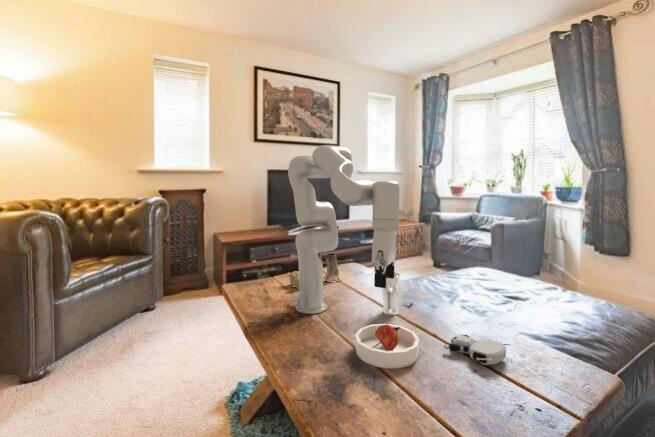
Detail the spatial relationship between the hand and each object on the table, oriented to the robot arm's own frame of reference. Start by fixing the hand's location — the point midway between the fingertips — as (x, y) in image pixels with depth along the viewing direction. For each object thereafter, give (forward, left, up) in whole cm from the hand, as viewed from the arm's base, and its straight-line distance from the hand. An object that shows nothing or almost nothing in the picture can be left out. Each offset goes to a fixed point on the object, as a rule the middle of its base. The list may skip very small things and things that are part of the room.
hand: (384, 282), depth 96 cm
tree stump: (-43, +60, -21) cm, 77 cm away
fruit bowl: (+1, -1, -21) cm, 21 cm away
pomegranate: (+1, -1, -20) cm, 20 cm away
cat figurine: (-54, +43, -21) cm, 72 cm away
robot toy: (+25, +7, -21) cm, 33 cm away
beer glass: (-5, +29, -21) cm, 36 cm away
